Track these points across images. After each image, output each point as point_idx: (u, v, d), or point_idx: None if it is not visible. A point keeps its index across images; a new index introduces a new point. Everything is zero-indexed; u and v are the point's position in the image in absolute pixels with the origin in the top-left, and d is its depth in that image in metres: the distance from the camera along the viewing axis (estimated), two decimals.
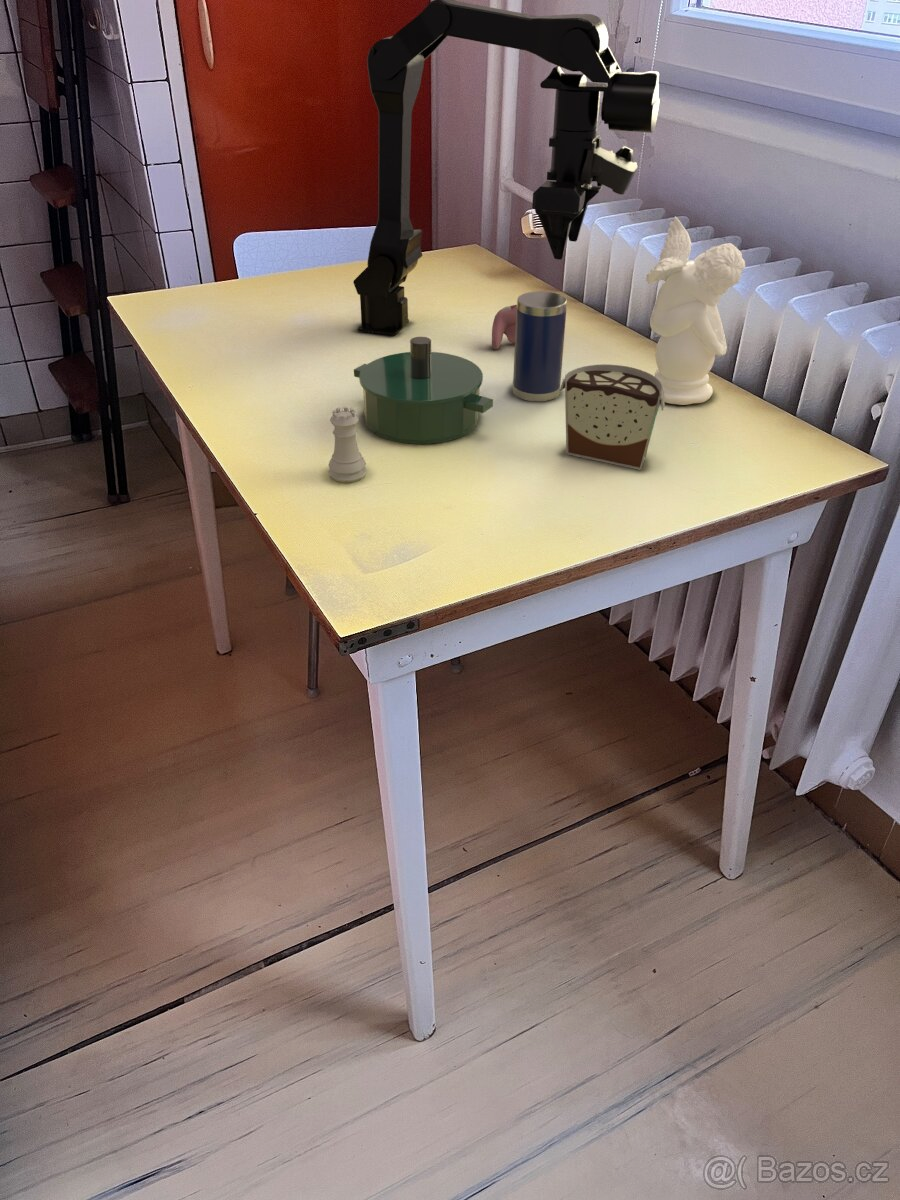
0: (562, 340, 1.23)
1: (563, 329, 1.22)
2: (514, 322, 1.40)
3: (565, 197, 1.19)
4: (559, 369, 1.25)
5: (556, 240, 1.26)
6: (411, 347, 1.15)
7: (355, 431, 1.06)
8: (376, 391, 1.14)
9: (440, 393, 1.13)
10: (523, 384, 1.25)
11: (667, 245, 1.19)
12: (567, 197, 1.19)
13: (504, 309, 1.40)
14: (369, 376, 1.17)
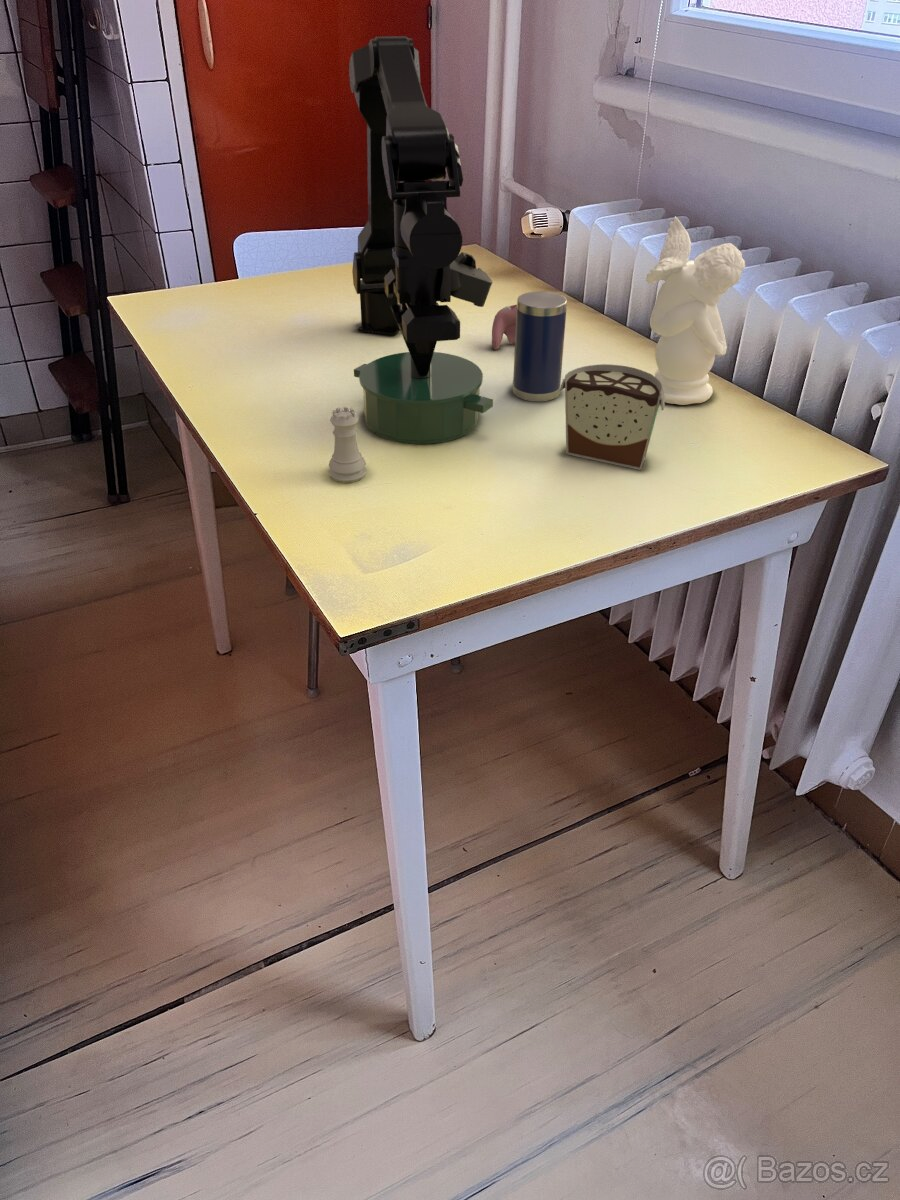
0: (562, 340, 1.23)
1: (563, 329, 1.22)
2: (514, 322, 1.40)
3: (446, 325, 1.05)
4: (559, 369, 1.25)
5: (422, 357, 1.14)
6: None
7: (355, 431, 1.06)
8: (376, 391, 1.14)
9: (440, 393, 1.13)
10: (523, 384, 1.25)
11: (667, 245, 1.19)
12: (448, 324, 1.05)
13: (504, 309, 1.40)
14: (369, 376, 1.17)
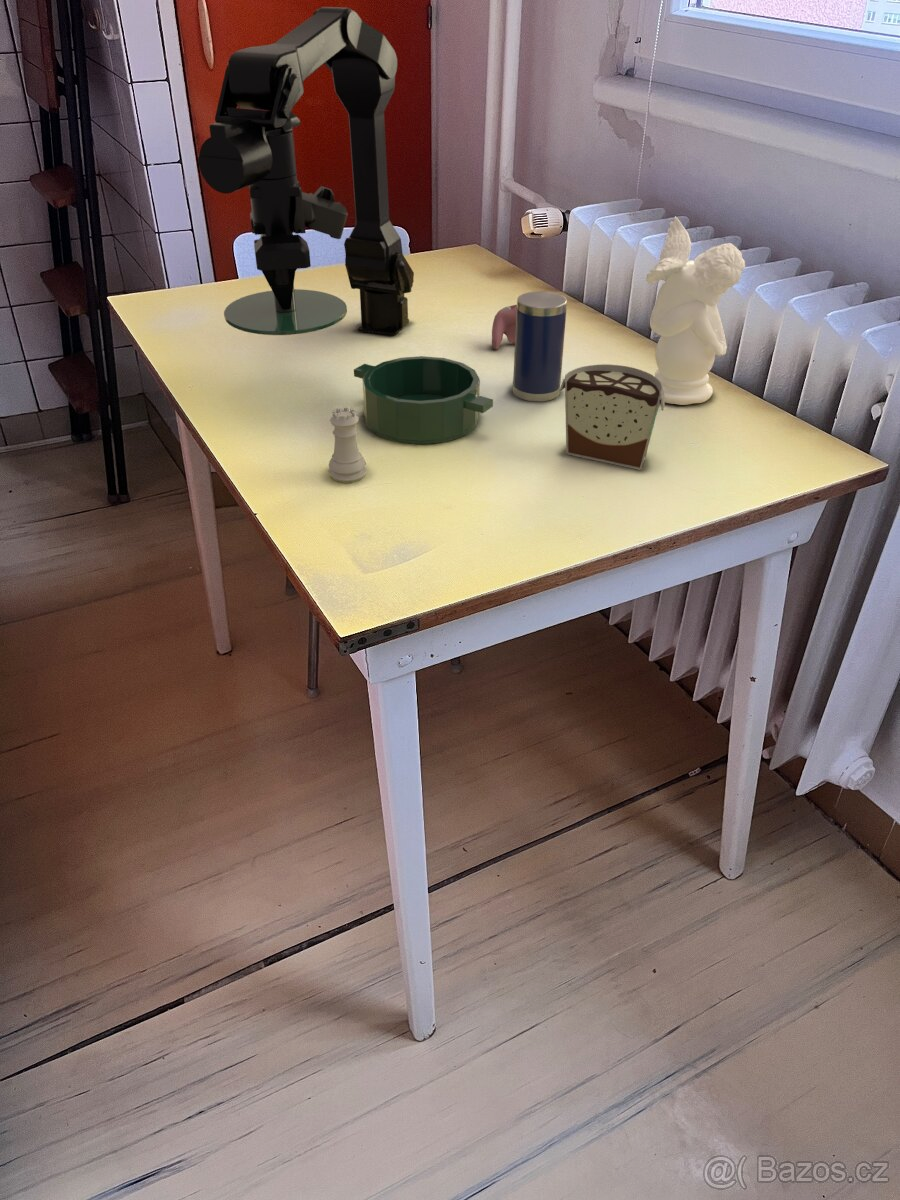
0: (562, 340, 1.23)
1: (563, 329, 1.22)
2: (514, 322, 1.40)
3: (294, 252, 1.07)
4: (559, 369, 1.25)
5: (282, 290, 1.16)
6: None
7: (355, 431, 1.06)
8: (237, 323, 1.16)
9: (300, 324, 1.15)
10: (523, 384, 1.25)
11: (667, 245, 1.19)
12: (296, 252, 1.07)
13: (504, 309, 1.40)
14: (234, 310, 1.19)
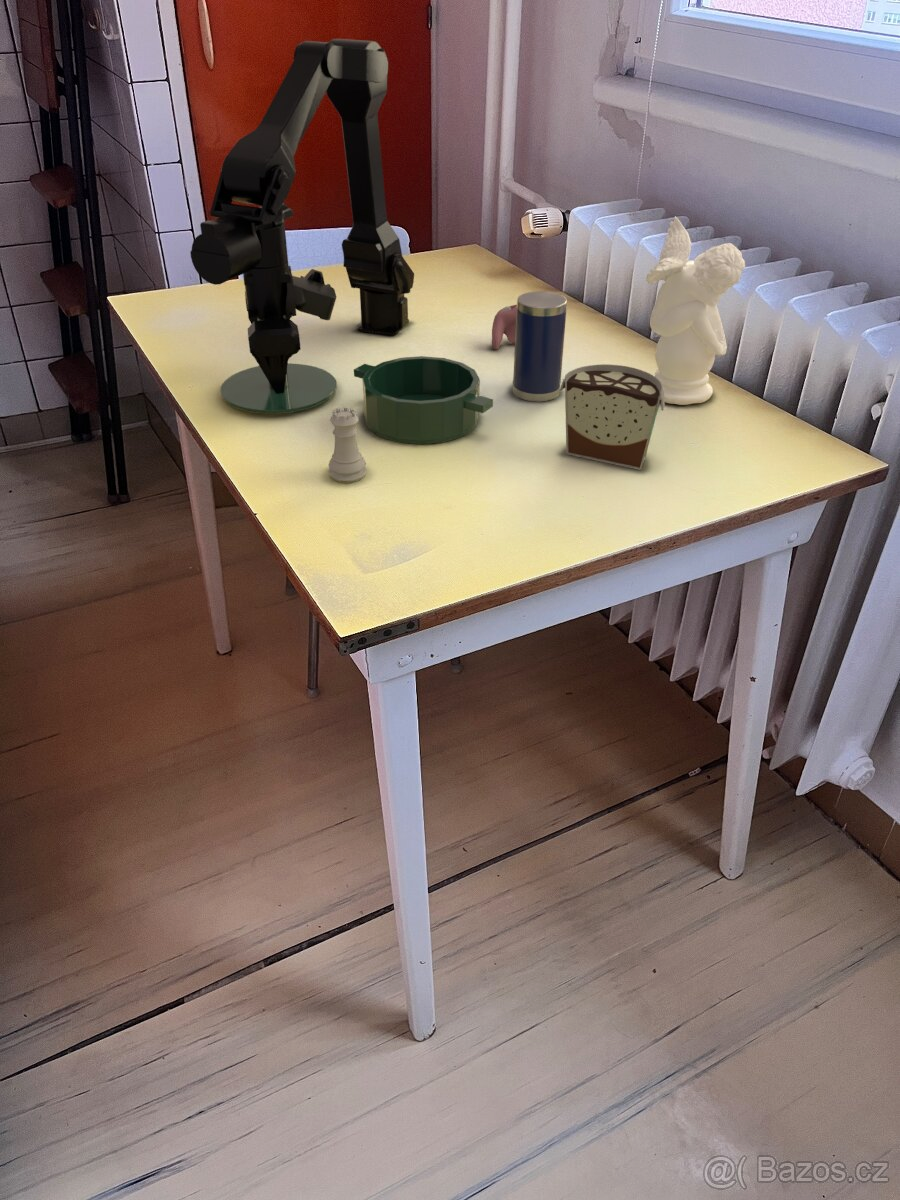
0: (562, 340, 1.23)
1: (563, 329, 1.22)
2: (514, 322, 1.40)
3: (285, 337, 1.14)
4: (559, 369, 1.25)
5: (276, 376, 1.20)
6: None
7: (355, 431, 1.06)
8: (232, 401, 1.23)
9: (292, 403, 1.23)
10: (523, 384, 1.25)
11: (667, 245, 1.19)
12: (287, 337, 1.14)
13: (504, 309, 1.40)
14: (230, 387, 1.26)
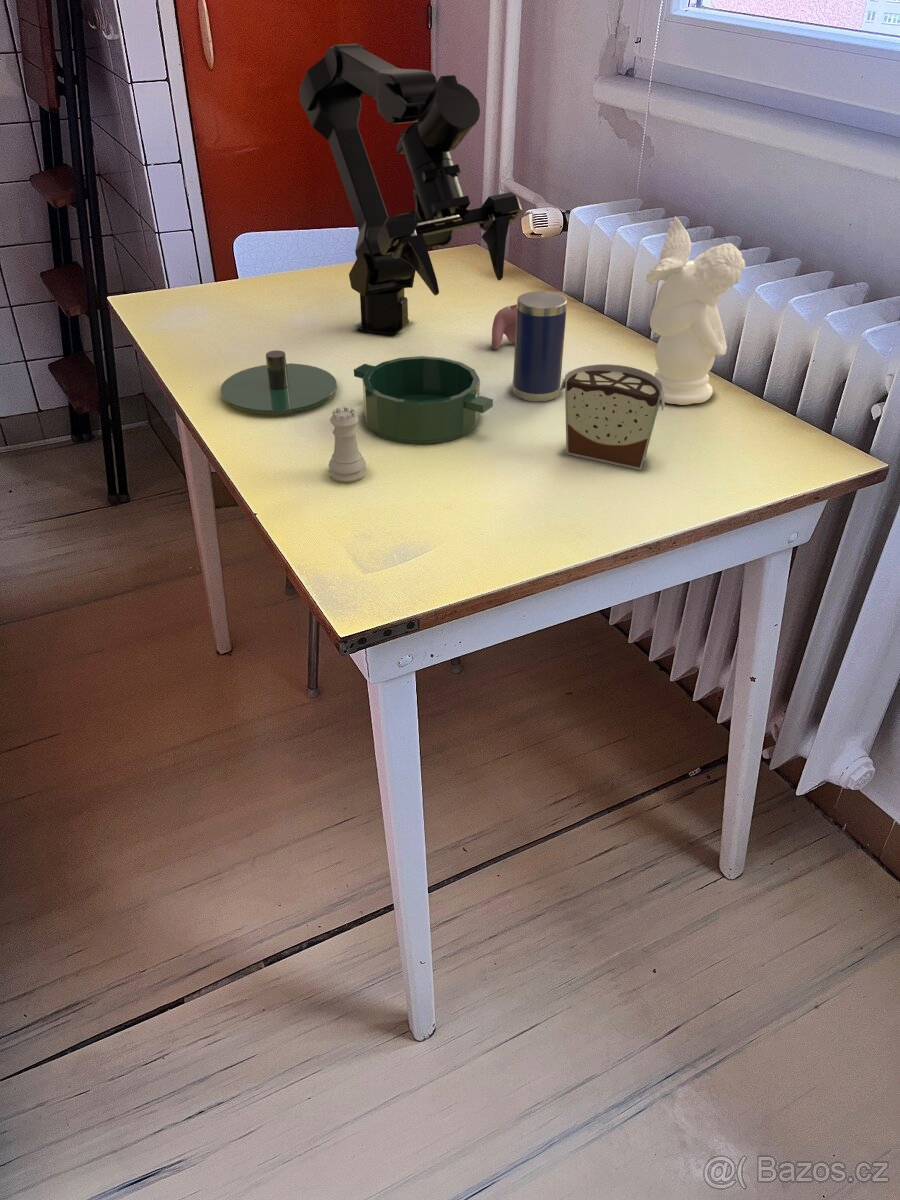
0: (562, 340, 1.23)
1: (563, 329, 1.22)
2: (514, 322, 1.40)
3: None
4: (559, 369, 1.25)
5: None
6: (266, 360, 1.24)
7: (355, 431, 1.06)
8: (232, 401, 1.23)
9: (292, 403, 1.23)
10: (523, 384, 1.25)
11: (667, 245, 1.19)
12: None
13: (504, 309, 1.40)
14: (230, 387, 1.26)
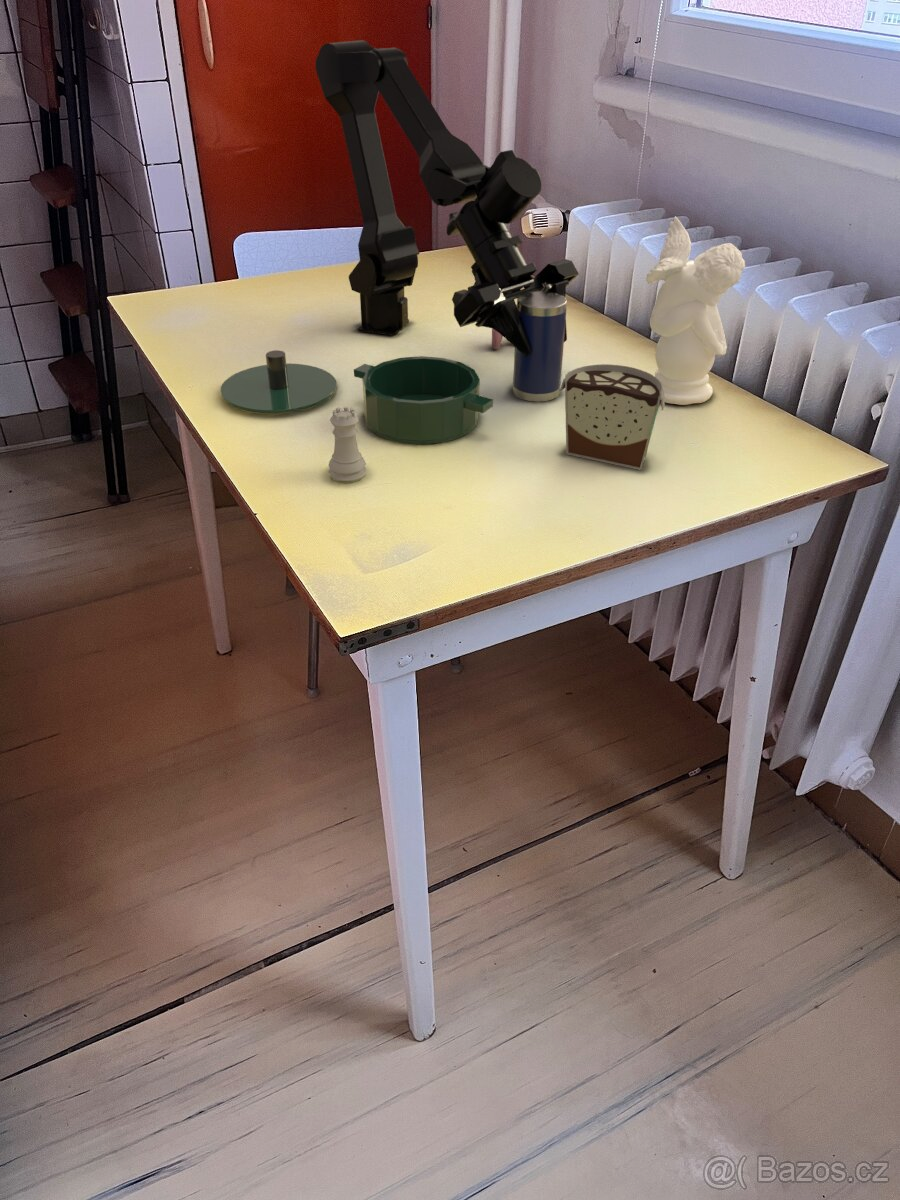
0: (562, 340, 1.23)
1: (563, 329, 1.22)
2: None
3: None
4: (559, 369, 1.25)
5: None
6: (266, 360, 1.24)
7: (355, 431, 1.06)
8: (232, 401, 1.23)
9: (292, 403, 1.23)
10: (523, 384, 1.25)
11: (667, 245, 1.19)
12: None
13: None
14: (230, 387, 1.26)
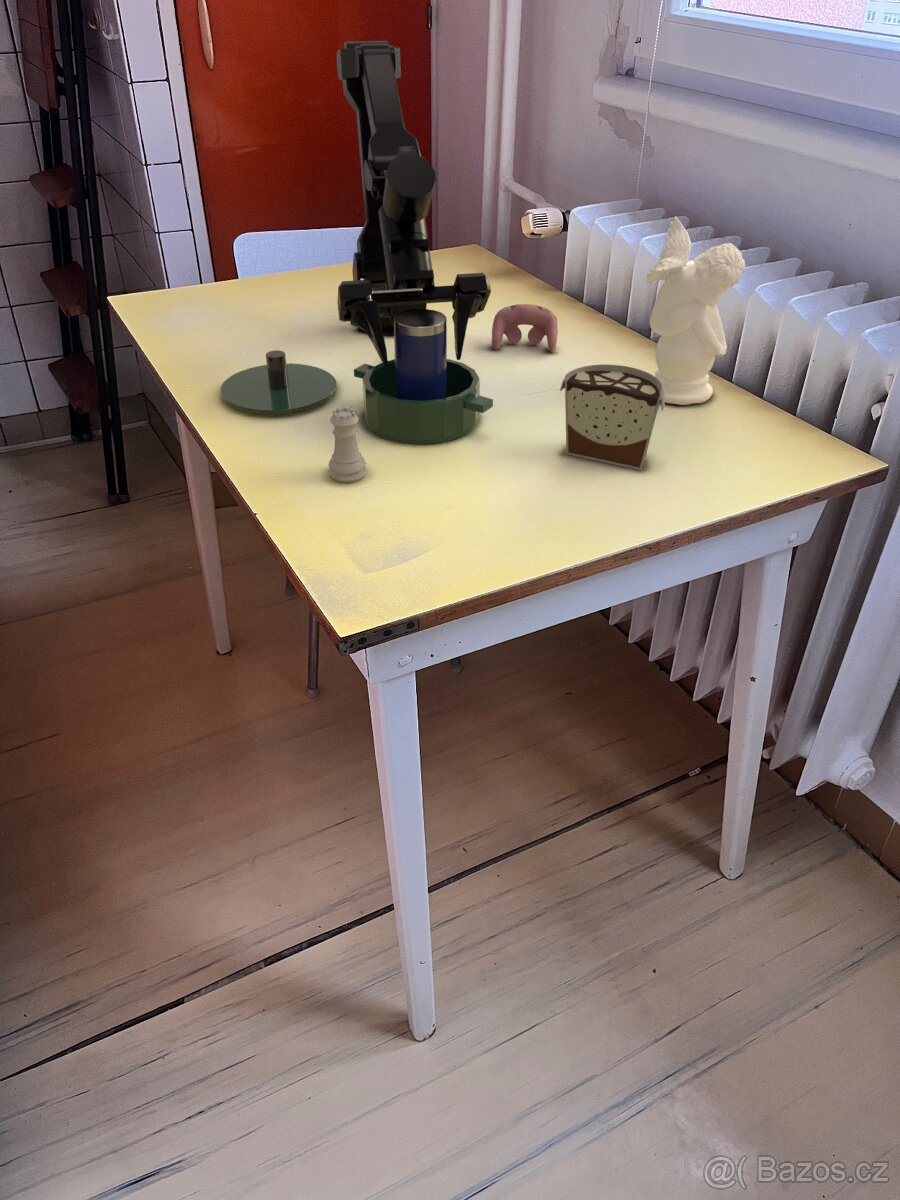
0: (434, 365, 1.14)
1: (434, 353, 1.14)
2: (514, 322, 1.40)
3: None
4: (432, 395, 1.17)
5: None
6: (266, 360, 1.24)
7: (355, 431, 1.06)
8: (232, 401, 1.23)
9: (292, 403, 1.23)
10: None
11: (667, 245, 1.19)
12: None
13: (504, 309, 1.40)
14: (230, 387, 1.26)
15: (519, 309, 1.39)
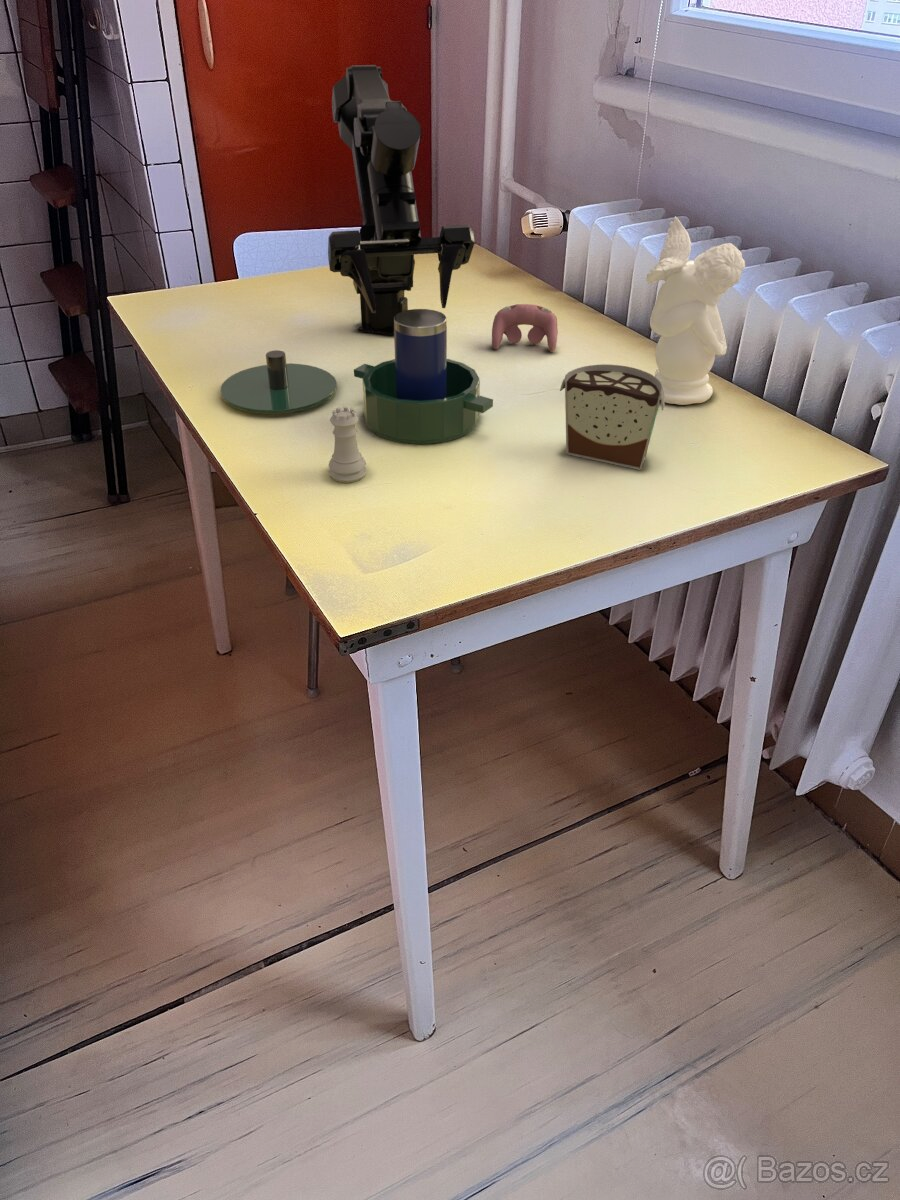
0: (434, 365, 1.14)
1: (434, 353, 1.14)
2: (514, 322, 1.40)
3: None
4: (432, 395, 1.17)
5: None
6: (266, 360, 1.24)
7: (355, 431, 1.06)
8: (232, 401, 1.23)
9: (292, 403, 1.23)
10: None
11: (667, 245, 1.19)
12: None
13: (504, 309, 1.40)
14: (230, 387, 1.26)
15: (519, 309, 1.39)
